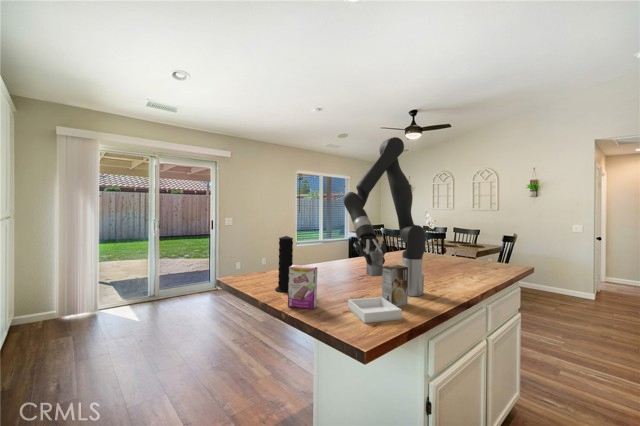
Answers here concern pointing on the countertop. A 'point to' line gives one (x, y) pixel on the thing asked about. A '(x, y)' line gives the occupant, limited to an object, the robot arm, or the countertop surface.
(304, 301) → the candy bar box
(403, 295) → the coffee box
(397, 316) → the tray
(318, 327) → the countertop surface
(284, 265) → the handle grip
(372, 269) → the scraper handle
